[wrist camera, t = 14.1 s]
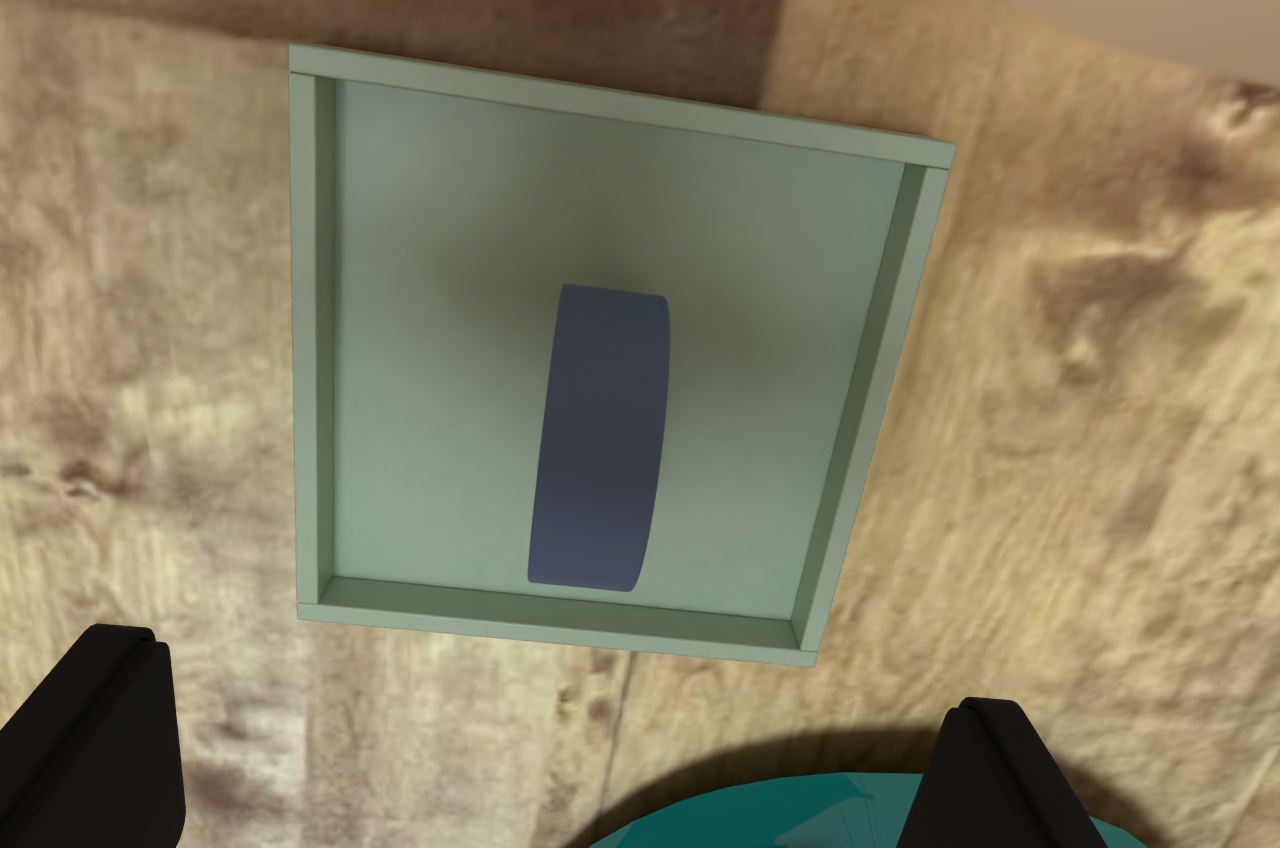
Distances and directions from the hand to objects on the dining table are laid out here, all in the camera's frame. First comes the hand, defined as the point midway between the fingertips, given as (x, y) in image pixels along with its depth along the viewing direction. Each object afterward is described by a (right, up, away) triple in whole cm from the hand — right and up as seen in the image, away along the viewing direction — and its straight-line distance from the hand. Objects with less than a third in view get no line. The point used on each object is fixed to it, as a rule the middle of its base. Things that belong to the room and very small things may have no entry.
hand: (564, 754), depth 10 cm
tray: (0, +5, +14) cm, 15 cm away
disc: (0, +5, +13) cm, 14 cm away
